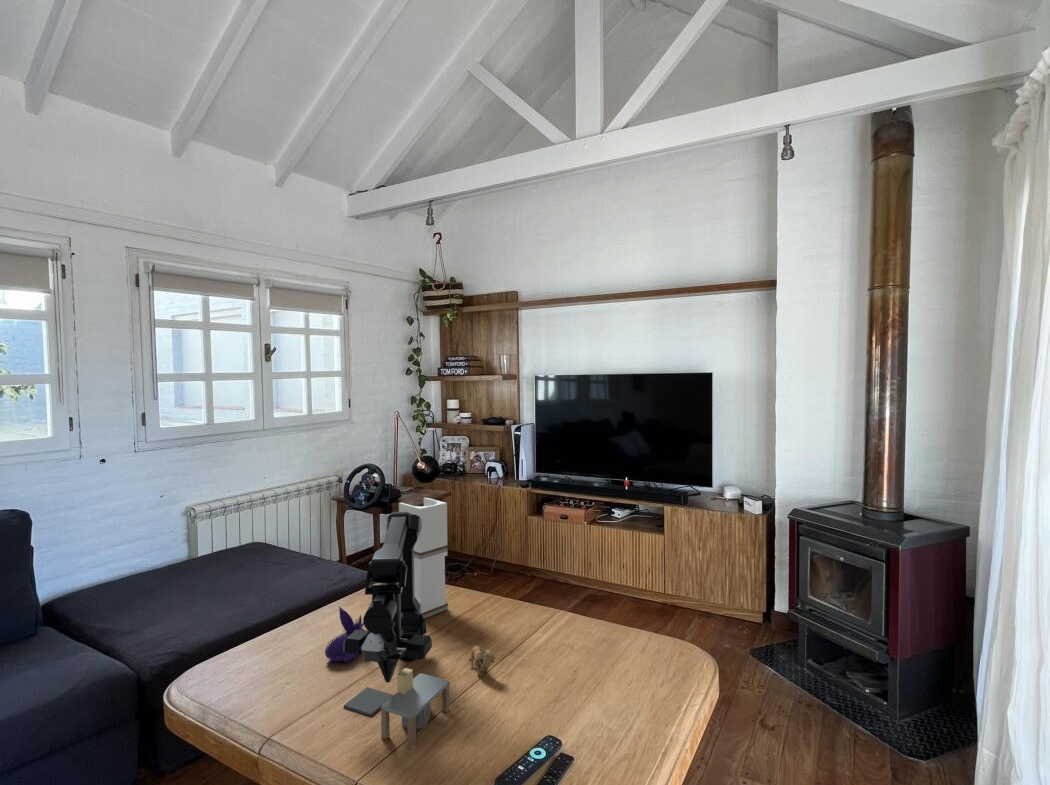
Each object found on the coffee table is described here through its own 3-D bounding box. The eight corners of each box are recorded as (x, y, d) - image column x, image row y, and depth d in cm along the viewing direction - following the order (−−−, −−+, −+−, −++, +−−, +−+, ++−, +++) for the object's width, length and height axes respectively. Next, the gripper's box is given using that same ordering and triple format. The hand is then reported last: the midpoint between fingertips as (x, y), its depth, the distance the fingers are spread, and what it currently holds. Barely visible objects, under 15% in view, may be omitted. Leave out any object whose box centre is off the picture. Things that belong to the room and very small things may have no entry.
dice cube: (409, 713, 125) (409, 692, 125) (430, 715, 125) (430, 693, 124) (402, 728, 120) (401, 705, 120) (424, 729, 120) (424, 706, 119)
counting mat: (343, 707, 127) (343, 705, 127) (367, 689, 135) (367, 687, 135) (371, 716, 124) (371, 713, 124) (393, 697, 131) (393, 694, 131)
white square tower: (448, 609, 180) (446, 502, 179) (421, 619, 172) (419, 508, 171) (427, 599, 188) (425, 497, 187) (400, 609, 180) (398, 503, 179)
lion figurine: (498, 679, 139) (498, 651, 138) (483, 685, 136) (482, 656, 136) (476, 659, 149) (475, 632, 148) (461, 663, 146) (461, 636, 146)
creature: (381, 641, 159) (381, 600, 158) (339, 673, 142) (339, 627, 142) (356, 636, 162) (356, 595, 162) (312, 667, 145) (311, 621, 145)
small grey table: (381, 737, 117) (380, 687, 116) (420, 701, 129) (420, 656, 129) (412, 748, 113) (411, 696, 113) (449, 710, 126) (449, 663, 126)
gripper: (329, 625, 116) (330, 698, 117) (413, 632, 113) (414, 707, 113) (354, 603, 127) (356, 670, 127) (432, 609, 124) (433, 677, 124)
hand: (388, 681), depth 123 cm, fingers closed
